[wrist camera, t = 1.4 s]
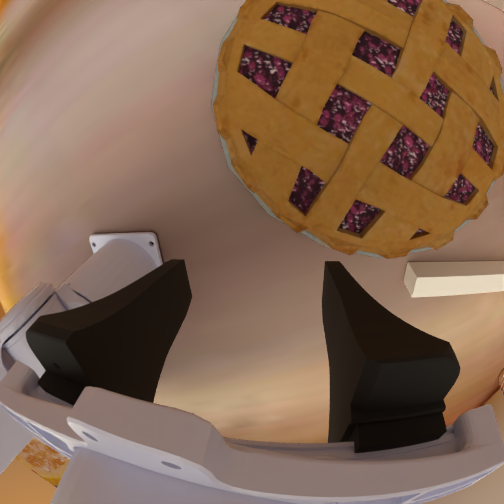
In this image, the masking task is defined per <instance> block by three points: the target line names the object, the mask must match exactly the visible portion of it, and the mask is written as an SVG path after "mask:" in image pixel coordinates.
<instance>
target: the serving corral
mask: <svg viewBox="0 0 504 504" xmlns="http://www.w3.org/2000/svg"><path fill="white" fill-rule="evenodd" d="M483 1H485V2H487V3H489V4H491V5H493V6H495V7H496V8H498V9H500V10H502V11H503V12H504V0H483ZM403 281H404V283H405V285H406V287H407V289H408V291H409V293H410V295H411V297H412V298H413V297H432V296H449V295H463V294H475V293H487V292H497V291H504V261H466V262H408V263H407V267H406V272H405V276H404V280H403Z"/></svg>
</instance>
